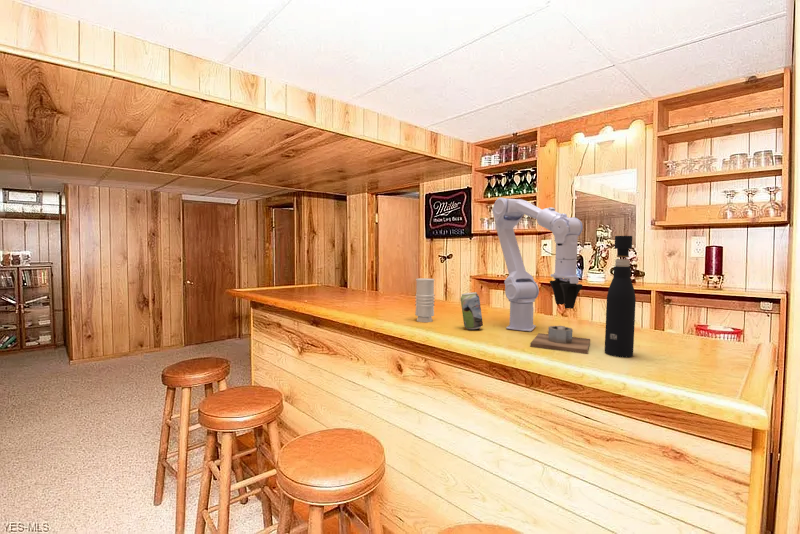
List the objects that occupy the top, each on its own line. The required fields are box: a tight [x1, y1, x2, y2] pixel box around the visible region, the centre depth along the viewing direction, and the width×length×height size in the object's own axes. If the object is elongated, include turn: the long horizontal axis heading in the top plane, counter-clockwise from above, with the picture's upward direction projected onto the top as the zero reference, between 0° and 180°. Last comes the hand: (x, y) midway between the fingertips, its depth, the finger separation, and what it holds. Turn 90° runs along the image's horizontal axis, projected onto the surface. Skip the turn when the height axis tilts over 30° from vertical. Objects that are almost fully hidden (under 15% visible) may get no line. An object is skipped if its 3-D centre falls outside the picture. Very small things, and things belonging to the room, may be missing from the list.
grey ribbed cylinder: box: [414, 277, 436, 323], centre depth 142 cm, size 7×7×15 cm
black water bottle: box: [604, 235, 637, 358], centre depth 100 cm, size 6×6×30 cm
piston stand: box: [529, 325, 591, 355], centre depth 110 cm, size 14×14×5 cm
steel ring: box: [547, 325, 574, 344], centre depth 110 cm, size 6×6×4 cm
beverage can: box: [460, 291, 484, 330], centre depth 129 cm, size 6×7×12 cm
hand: (564, 306), depth 115 cm, fingers open, 7 cm apart
